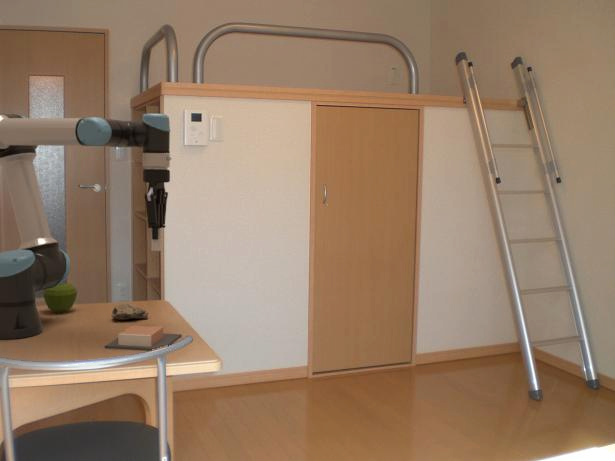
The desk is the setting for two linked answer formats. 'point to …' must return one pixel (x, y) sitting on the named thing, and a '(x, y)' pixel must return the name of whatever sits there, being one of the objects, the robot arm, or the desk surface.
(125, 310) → the rock
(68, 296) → the apple
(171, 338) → the mat
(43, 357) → the desk surface
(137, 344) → the slab
